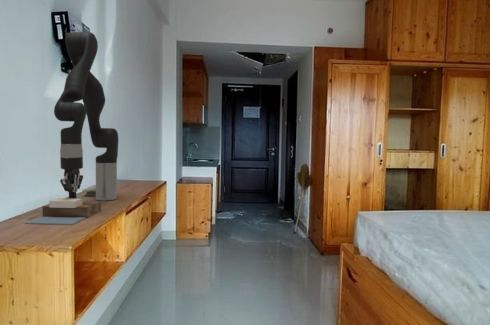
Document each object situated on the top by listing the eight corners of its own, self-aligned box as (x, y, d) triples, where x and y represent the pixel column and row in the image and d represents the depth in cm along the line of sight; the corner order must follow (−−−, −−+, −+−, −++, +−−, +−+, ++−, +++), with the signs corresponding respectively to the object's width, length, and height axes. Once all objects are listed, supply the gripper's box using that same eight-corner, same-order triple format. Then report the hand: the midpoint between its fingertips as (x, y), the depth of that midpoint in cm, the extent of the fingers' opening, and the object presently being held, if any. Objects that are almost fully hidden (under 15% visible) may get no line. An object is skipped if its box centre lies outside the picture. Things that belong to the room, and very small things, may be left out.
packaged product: (112, 192, 186) (93, 193, 184) (112, 183, 186) (92, 184, 184) (104, 197, 168) (82, 199, 167) (103, 188, 168) (81, 189, 166)
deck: (60, 210, 137) (60, 200, 137) (100, 211, 137) (100, 201, 137) (42, 217, 125) (42, 206, 125) (86, 218, 125) (86, 207, 125)
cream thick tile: (58, 204, 129) (58, 198, 129) (82, 204, 129) (82, 198, 129) (49, 207, 123) (49, 200, 123) (74, 208, 123) (74, 201, 123)
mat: (41, 217, 125) (41, 216, 125) (85, 218, 125) (85, 217, 125) (24, 223, 115) (24, 222, 115) (72, 224, 115) (72, 223, 115)
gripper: (70, 154, 136) (71, 198, 137) (51, 157, 123) (53, 205, 124) (89, 155, 136) (90, 198, 137) (72, 157, 123) (73, 205, 124)
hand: (72, 201), depth 131 cm, fingers closed
